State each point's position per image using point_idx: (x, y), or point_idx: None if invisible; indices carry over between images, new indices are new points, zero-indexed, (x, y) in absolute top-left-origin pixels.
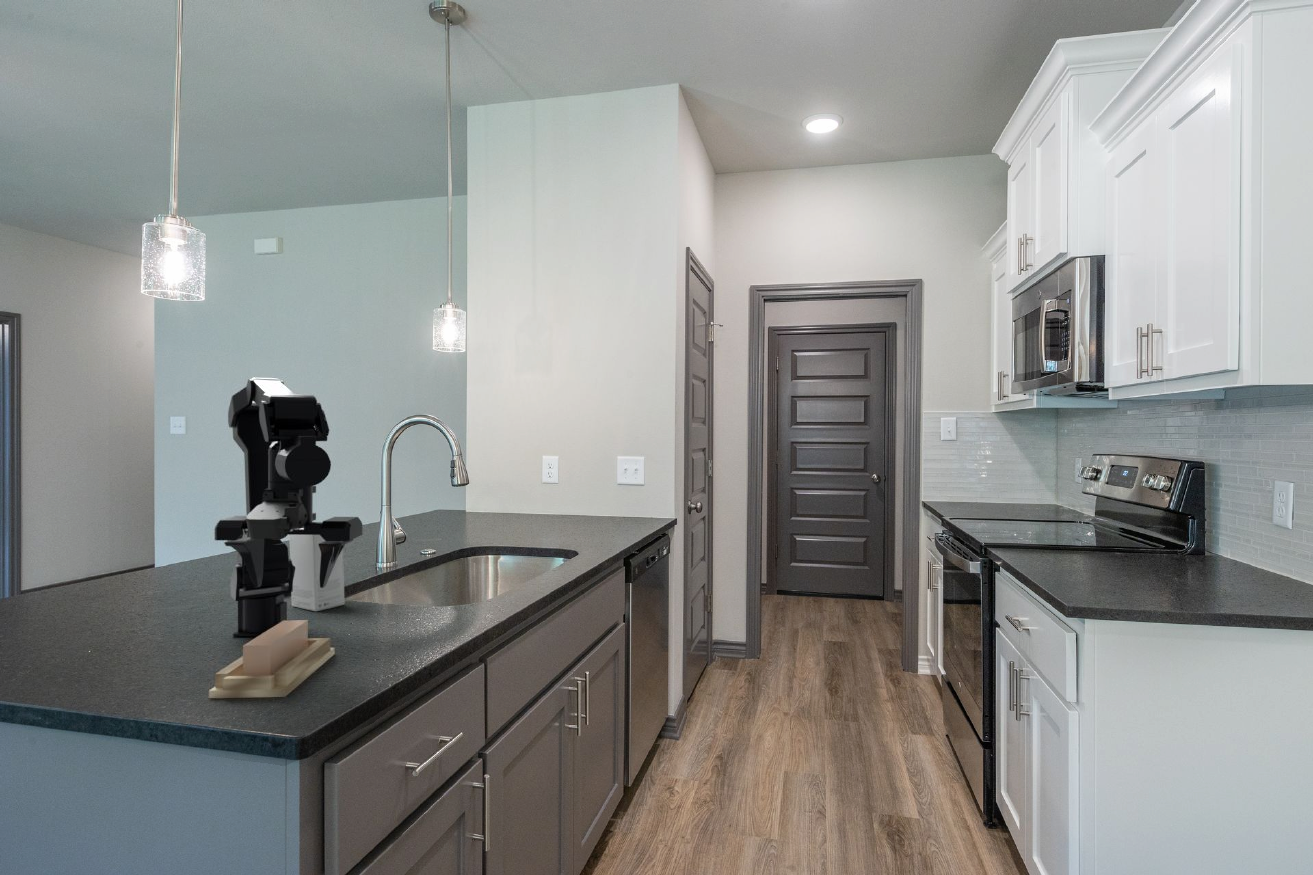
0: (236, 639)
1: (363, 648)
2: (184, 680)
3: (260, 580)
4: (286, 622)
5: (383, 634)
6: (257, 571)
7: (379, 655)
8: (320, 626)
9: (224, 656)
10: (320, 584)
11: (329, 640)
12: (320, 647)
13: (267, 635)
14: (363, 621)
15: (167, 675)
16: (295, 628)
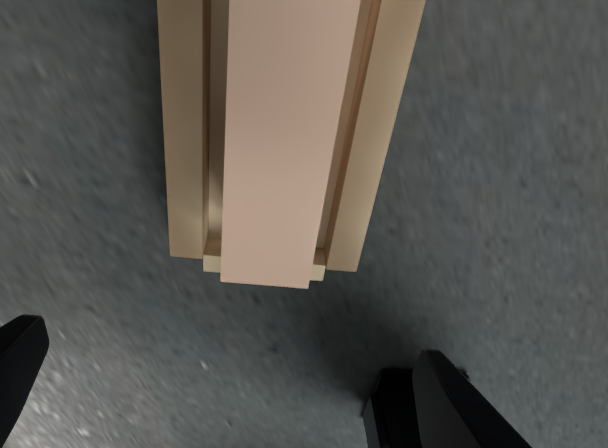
0: (456, 360)
1: (118, 271)
2: (542, 84)
3: (422, 397)
4: (288, 263)
5: (116, 356)
6: (457, 445)
7: (39, 212)
8: (292, 412)
9: (463, 260)
10: (21, 325)
11: (170, 246)
12: (167, 181)
13: (306, 98)
14: (206, 430)
15: (590, 137)
16: (223, 185)
